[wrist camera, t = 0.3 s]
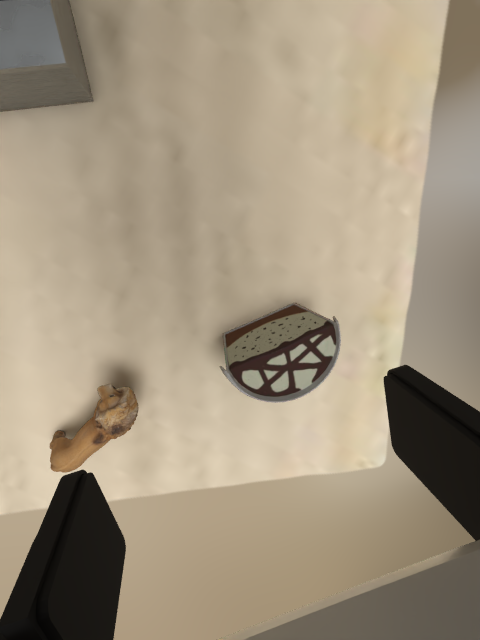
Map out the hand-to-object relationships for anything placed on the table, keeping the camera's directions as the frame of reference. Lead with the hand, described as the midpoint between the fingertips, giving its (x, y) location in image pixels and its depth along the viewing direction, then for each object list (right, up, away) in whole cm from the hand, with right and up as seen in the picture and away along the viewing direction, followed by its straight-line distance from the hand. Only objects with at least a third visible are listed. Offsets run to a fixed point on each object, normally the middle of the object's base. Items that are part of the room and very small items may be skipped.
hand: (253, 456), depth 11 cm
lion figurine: (-17, -6, +31) cm, 36 cm away
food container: (+3, +2, +32) cm, 33 cm away
